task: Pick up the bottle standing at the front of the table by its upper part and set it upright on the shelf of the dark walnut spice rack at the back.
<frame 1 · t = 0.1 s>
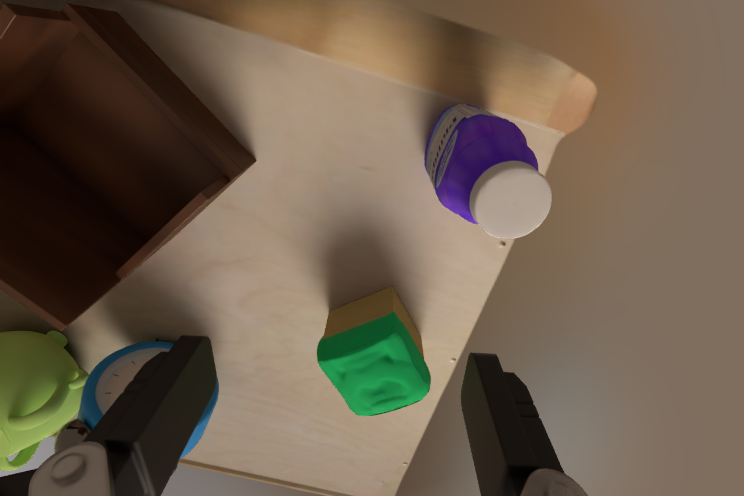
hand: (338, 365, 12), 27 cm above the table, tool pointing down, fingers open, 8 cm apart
teapot: (42, 351, 49), on the table
alarm clock: (181, 358, 49), on the table
cake: (377, 326, 46), on the table
bottle: (455, 142, 36), on the table
spice rack: (149, 138, 36), on the table
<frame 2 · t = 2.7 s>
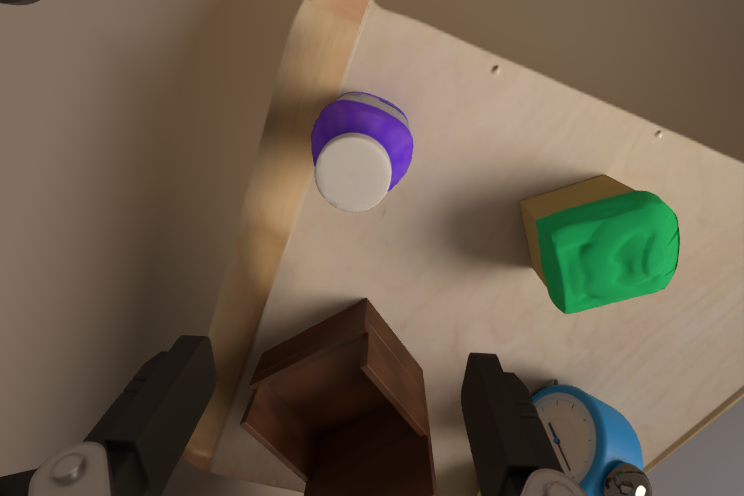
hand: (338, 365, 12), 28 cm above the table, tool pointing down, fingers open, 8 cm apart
alarm clock: (548, 400, 51), on the table
cake: (570, 222, 39), on the table
bottle: (368, 125, 35), on the table
spice rack: (342, 361, 48), on the table
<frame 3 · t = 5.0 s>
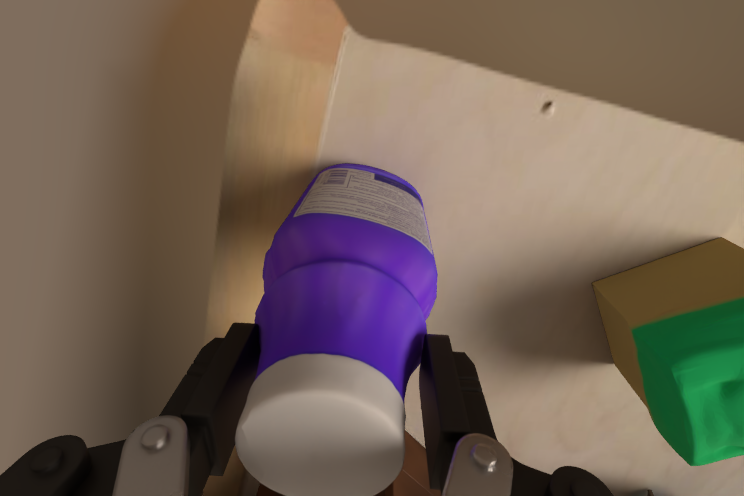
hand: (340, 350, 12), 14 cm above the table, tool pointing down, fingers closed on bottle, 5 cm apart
cake: (668, 302, 27), on the table
bottle: (363, 203, 25), on the table, touching gripper
spice rack: (363, 483, 37), on the table
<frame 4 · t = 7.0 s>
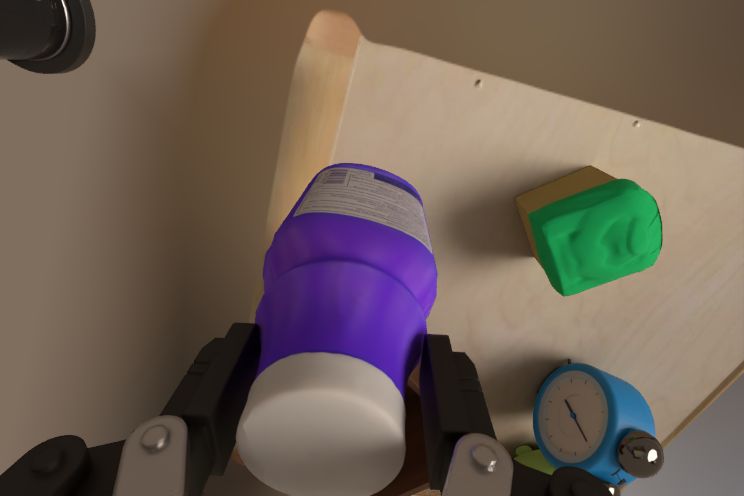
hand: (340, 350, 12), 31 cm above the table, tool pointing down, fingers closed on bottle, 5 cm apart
teapot: (533, 461, 62), on the table
alarm clock: (564, 380, 53), on the table
cake: (564, 211, 42), on the table
bottle: (363, 203, 25), point 17 cm above the table, touching gripper
spice rack: (367, 358, 53), on the table
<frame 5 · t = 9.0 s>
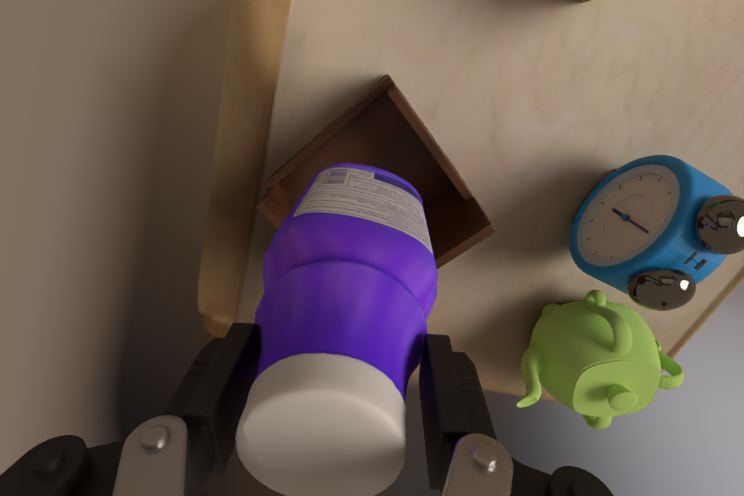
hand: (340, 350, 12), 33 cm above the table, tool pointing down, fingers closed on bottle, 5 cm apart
teapot: (563, 327, 52), on the table
alarm clock: (607, 203, 44), on the table
bottle: (363, 203, 25), point 19 cm above the table, touching gripper
spice rack: (367, 172, 43), on the table
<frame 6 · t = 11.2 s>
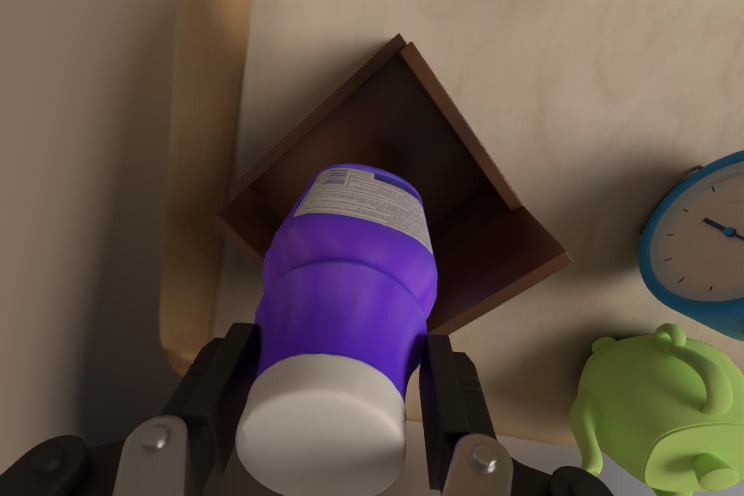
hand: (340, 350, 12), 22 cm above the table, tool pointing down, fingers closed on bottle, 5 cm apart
teapot: (617, 365, 41), on the table
alarm clock: (685, 211, 33), on the table
bottle: (363, 203, 25), point 9 cm above the table, touching gripper
spice rack: (369, 172, 32), on the table
when the fingers open (18 cm above the table, at t = 12.9 s): bottle stays where it is, resting on spice rack.
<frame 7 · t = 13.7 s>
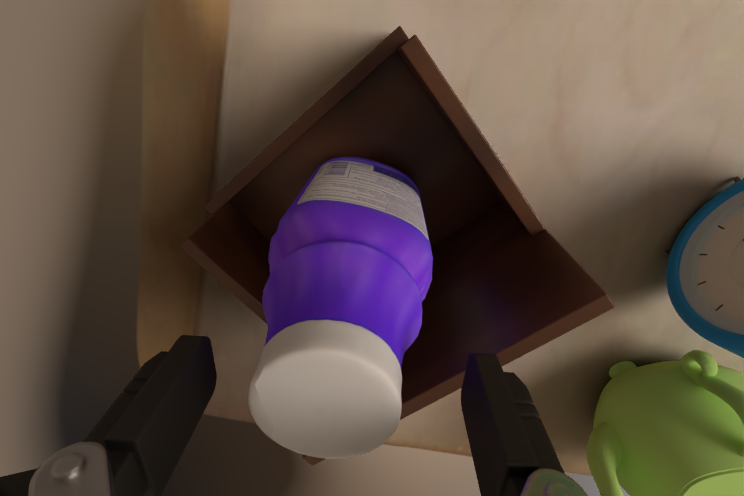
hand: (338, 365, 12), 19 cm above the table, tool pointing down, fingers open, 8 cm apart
teapot: (635, 391, 38), on the table
alarm clock: (717, 226, 30), on the table
bottle: (363, 195, 26), point 4 cm above the table, touching spice rack
spice rack: (365, 183, 29), on the table
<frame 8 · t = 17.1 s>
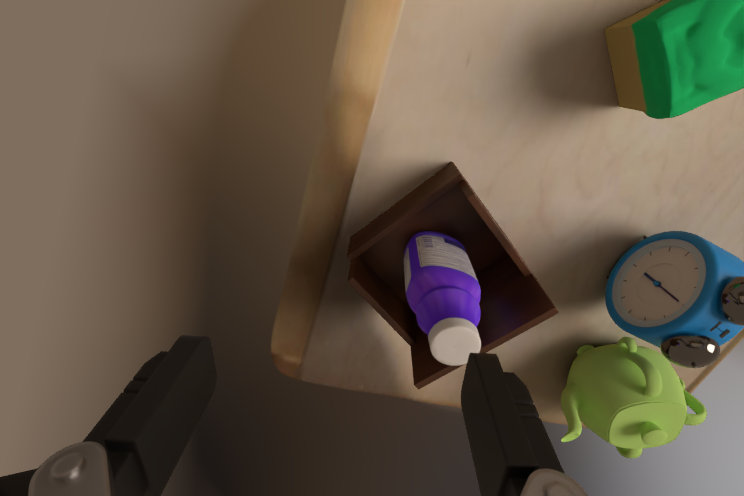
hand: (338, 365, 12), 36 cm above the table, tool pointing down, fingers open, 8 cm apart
teapot: (595, 365, 58), on the table
alarm clock: (637, 262, 50), on the table
cake: (656, 48, 39), on the table
bottle: (432, 249, 46), point 4 cm above the table, touching spice rack
spice rack: (428, 238, 49), on the table
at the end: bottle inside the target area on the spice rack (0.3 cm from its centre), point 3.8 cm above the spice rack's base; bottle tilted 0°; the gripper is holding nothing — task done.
